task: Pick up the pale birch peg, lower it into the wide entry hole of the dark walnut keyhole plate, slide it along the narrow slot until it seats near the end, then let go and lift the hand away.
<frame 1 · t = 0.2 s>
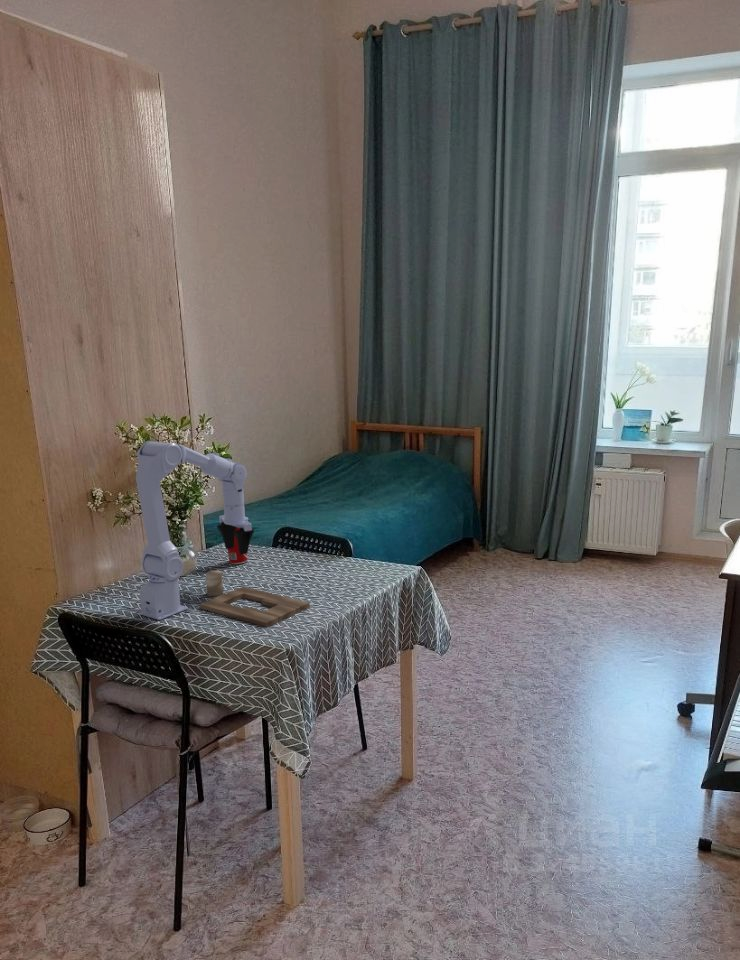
hand: (236, 551, 210), 10 cm above the table, tool pointing down, fingers open, 7 cm apart
beverage can: (237, 562, 232), on the table
birch peg: (215, 593, 204), on the table
keyhole plate: (254, 607, 192), on the table
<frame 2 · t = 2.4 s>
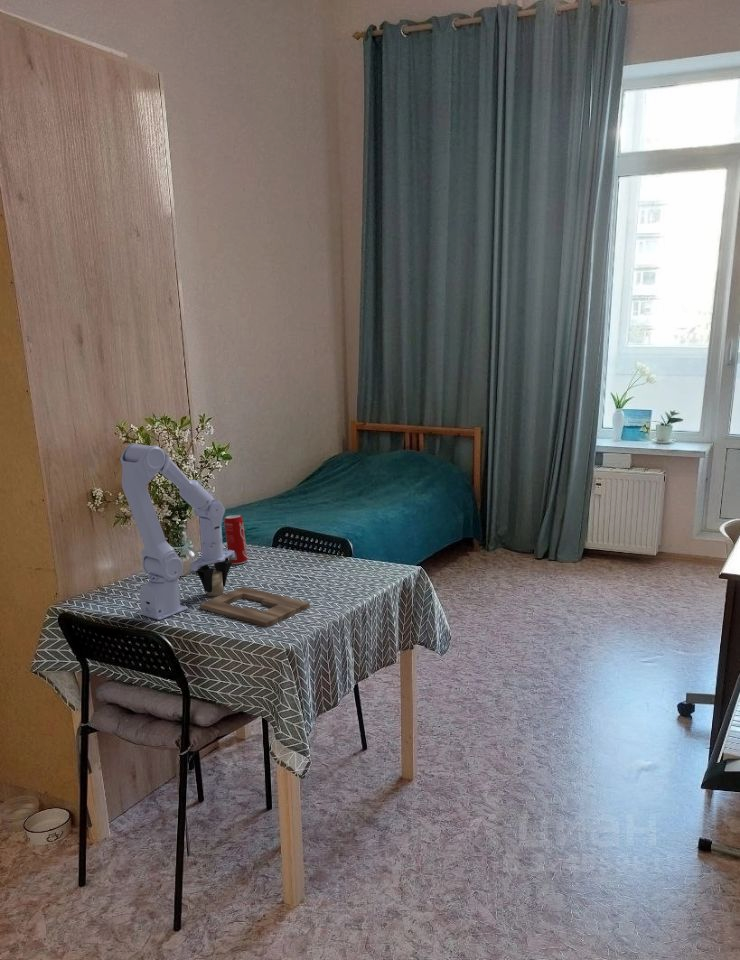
hand: (214, 588, 203), 1 cm above the table, tool pointing down, fingers closed on birch peg, 4 cm apart
birch peg: (215, 593, 204), on the table, touching gripper
everything else where it was.
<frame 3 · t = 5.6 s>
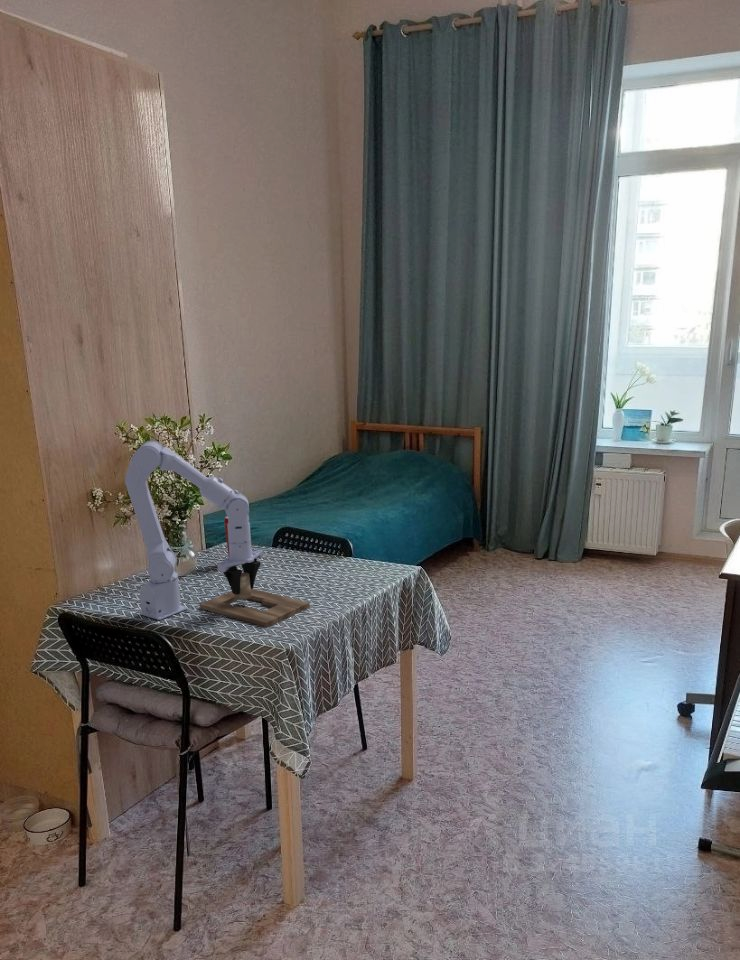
hand: (242, 590, 194), 4 cm above the table, tool pointing down, fingers closed on birch peg, 4 cm apart
birch peg: (242, 596, 194), point 2 cm above the table, touching gripper
everything else where it was.
when the fingers open (2 cm above the table, at t = 9.0 s): birch peg stays where it is, resting in keyhole plate.
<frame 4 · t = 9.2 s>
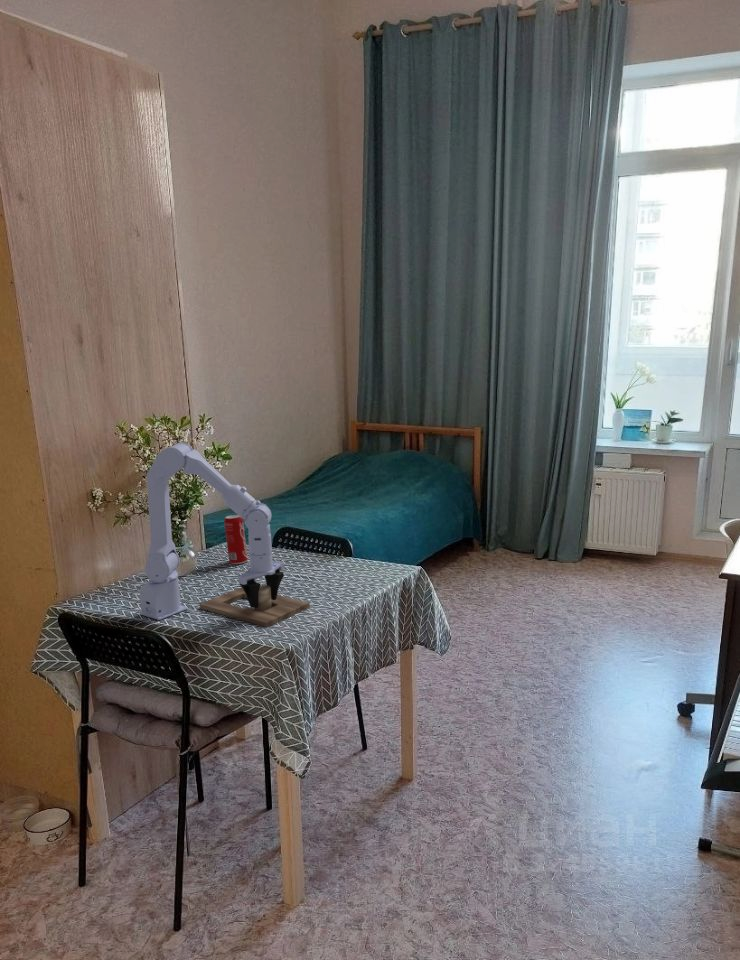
hand: (263, 603, 190), 2 cm above the table, tool pointing down, fingers open, 6 cm apart
birch peg: (263, 610, 191), resting in keyhole plate
everything else where it was.
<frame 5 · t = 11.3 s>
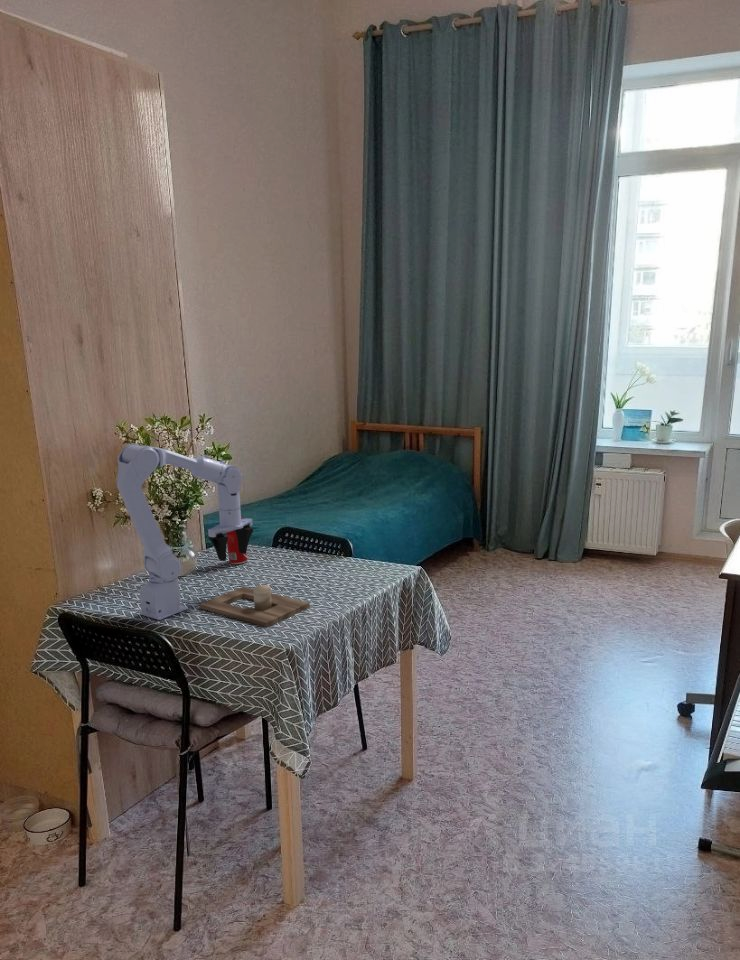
hand: (232, 556, 202), 10 cm above the table, tool pointing down, fingers open, 7 cm apart
nothing on the table moved.
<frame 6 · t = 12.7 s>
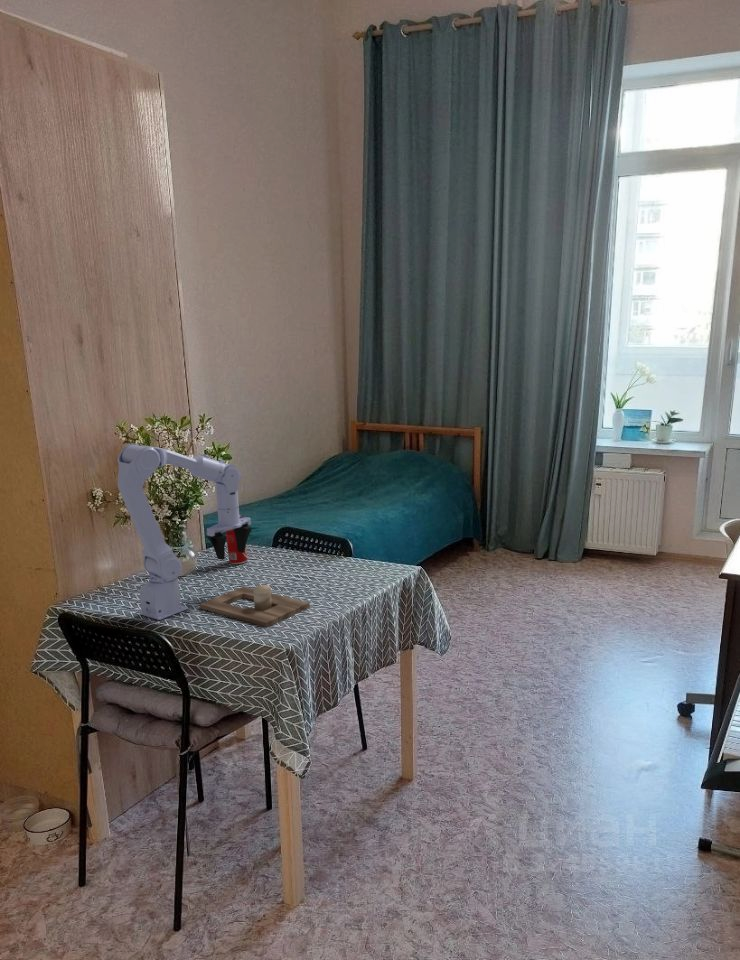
hand: (231, 555, 203), 10 cm above the table, tool pointing down, fingers open, 7 cm apart
nothing on the table moved.
at the end: birch peg 0.3 cm from the target spot on the keyhole plate, point 0.0 cm above the keyhole plate's base; birch peg tilted 0°; the gripper is holding nothing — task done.
